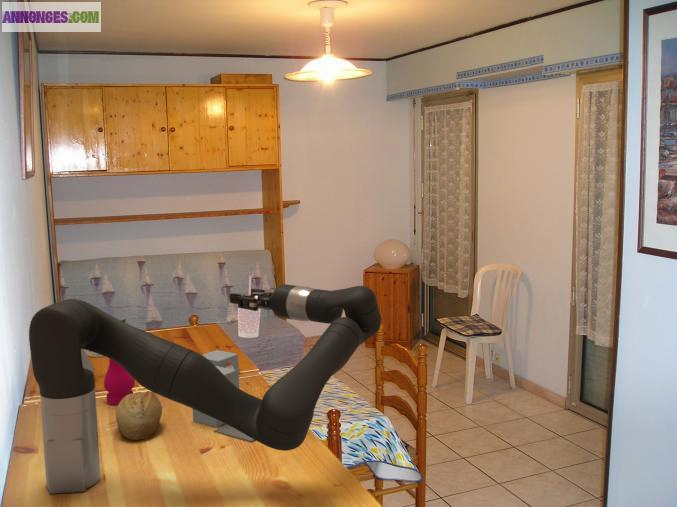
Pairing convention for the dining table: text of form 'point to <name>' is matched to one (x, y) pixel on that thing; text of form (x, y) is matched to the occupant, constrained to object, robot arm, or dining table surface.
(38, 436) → the dining table surface
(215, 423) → the near cabinet dock
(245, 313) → the beverage cup
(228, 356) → the far cabinet
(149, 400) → the bread roll
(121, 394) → the pepper mill
